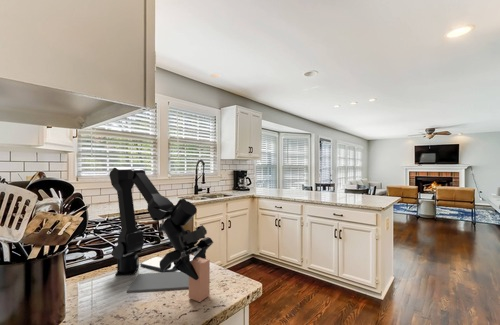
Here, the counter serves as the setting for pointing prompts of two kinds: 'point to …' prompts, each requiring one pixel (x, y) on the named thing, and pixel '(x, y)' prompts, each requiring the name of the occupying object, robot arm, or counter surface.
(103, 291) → the counter surface
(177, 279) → the mat
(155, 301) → the counter surface
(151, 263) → the smartphone
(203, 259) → the block
